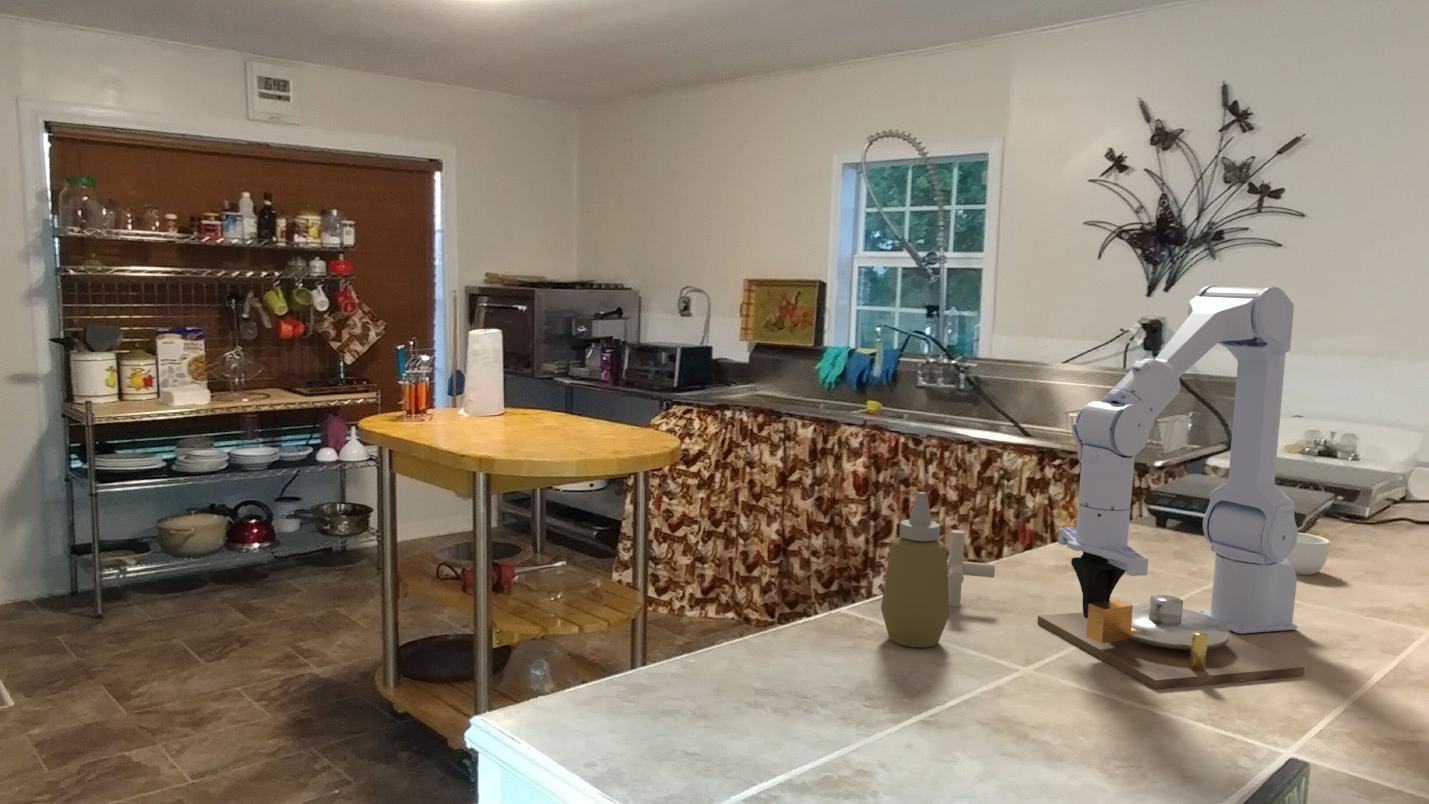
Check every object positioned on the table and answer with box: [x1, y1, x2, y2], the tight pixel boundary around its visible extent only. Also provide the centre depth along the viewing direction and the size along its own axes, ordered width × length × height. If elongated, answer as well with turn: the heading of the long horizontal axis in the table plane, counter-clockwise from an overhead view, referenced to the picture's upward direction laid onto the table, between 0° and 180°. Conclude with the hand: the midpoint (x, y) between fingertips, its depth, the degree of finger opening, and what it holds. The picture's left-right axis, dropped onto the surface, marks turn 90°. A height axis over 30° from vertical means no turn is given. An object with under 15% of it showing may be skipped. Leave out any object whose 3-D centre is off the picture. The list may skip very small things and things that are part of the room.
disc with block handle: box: [1086, 594, 1231, 650], centre depth 124 cm, size 18×14×4 cm
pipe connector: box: [947, 529, 996, 608], centre depth 139 cm, size 10×10×10 cm
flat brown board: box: [1037, 612, 1305, 690], centre depth 125 cm, size 20×22×2 cm
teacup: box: [1285, 532, 1330, 576], centre depth 164 cm, size 10×8×5 cm
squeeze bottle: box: [880, 491, 950, 649], centre depth 124 cm, size 8×8×18 cm
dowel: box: [1189, 632, 1208, 672], centre depth 116 cm, size 2×2×4 cm
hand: (1094, 618), depth 123 cm, fingers closed, pressing on disc with block handle
